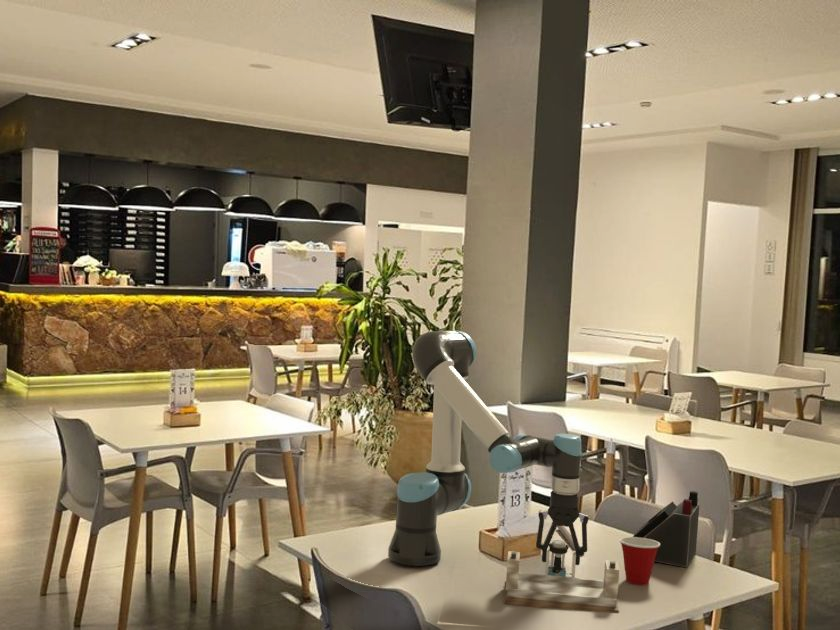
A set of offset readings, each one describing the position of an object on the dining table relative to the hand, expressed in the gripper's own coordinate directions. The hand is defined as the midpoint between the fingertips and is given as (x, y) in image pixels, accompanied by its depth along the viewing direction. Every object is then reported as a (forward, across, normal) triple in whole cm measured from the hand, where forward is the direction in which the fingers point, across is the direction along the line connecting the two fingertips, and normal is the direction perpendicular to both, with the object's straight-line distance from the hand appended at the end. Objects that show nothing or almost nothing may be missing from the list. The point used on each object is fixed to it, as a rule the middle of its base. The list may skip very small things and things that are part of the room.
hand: (559, 574), depth 245 cm
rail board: (+1, 0, -14) cm, 14 cm away
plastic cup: (+1, +21, +2) cm, 21 cm away
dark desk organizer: (+1, +31, +26) cm, 40 cm away
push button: (+1, 0, 0) cm, 1 cm away
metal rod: (+2, +4, +35) cm, 35 cm away
